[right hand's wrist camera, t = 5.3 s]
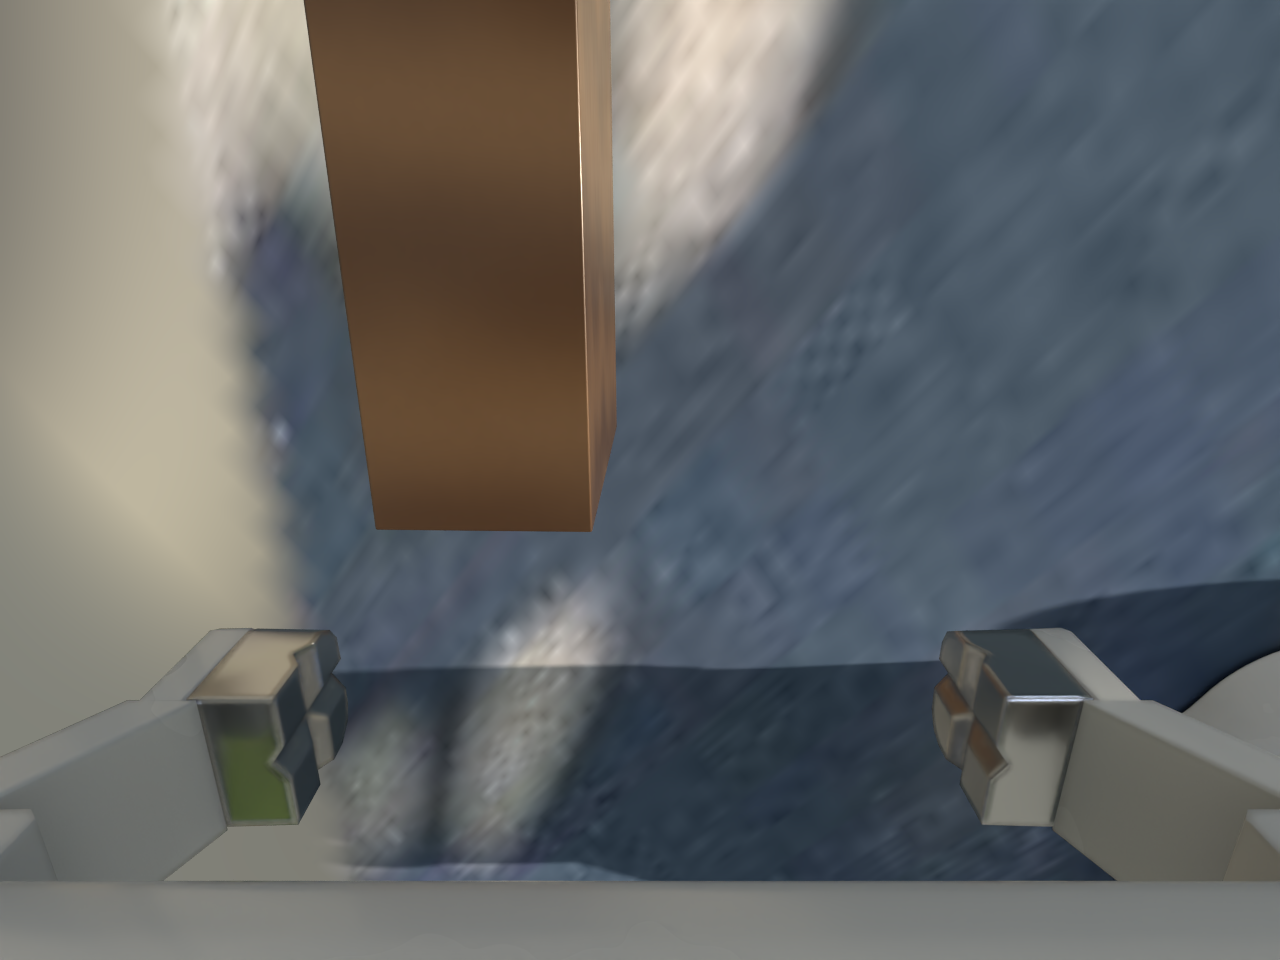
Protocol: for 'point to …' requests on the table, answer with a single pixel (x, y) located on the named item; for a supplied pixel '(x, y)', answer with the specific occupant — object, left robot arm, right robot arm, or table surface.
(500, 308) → the bar
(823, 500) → the table surface
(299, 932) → the right robot arm
